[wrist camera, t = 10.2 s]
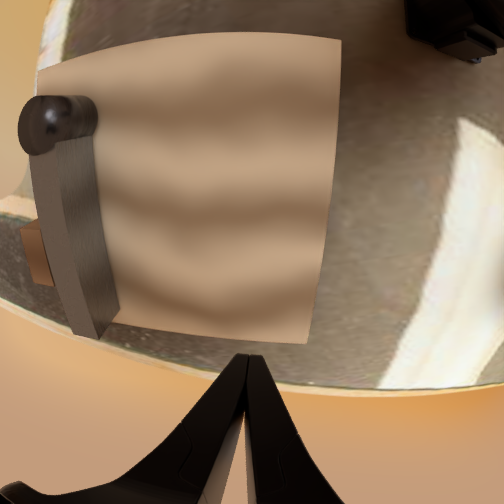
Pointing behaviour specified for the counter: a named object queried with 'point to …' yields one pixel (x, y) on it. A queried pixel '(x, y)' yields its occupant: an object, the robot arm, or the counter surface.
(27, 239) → the block
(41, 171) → the swing bar
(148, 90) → the tan flat square sheet
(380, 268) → the counter surface
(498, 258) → the counter surface
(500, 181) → the counter surface
